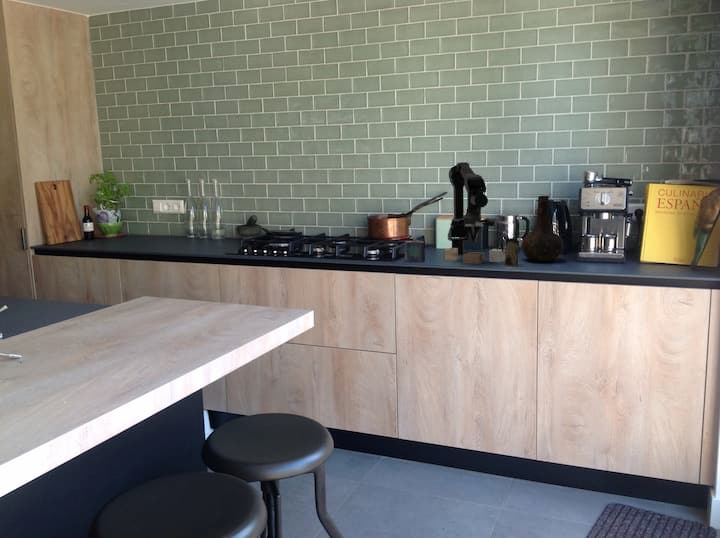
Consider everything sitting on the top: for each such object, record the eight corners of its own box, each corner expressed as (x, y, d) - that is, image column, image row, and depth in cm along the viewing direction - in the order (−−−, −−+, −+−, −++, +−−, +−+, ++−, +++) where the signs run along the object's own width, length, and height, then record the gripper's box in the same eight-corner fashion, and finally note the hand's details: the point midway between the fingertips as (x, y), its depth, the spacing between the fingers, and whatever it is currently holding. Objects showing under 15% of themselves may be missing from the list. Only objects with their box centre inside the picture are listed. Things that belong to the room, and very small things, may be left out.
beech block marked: (446, 258, 302) (446, 247, 301) (457, 259, 301) (457, 247, 300) (445, 260, 297) (445, 249, 296) (456, 261, 296) (456, 249, 295)
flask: (404, 261, 298) (403, 237, 296) (406, 260, 300) (406, 236, 298) (423, 262, 294) (423, 238, 292) (426, 261, 296) (425, 237, 294)
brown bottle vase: (539, 265, 279) (540, 198, 274) (512, 259, 295) (513, 195, 290) (572, 261, 286) (574, 195, 281) (545, 255, 302) (546, 193, 298)
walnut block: (469, 260, 296) (469, 251, 296) (484, 261, 293) (484, 252, 292) (463, 263, 291) (463, 254, 290) (478, 264, 287) (478, 255, 286)
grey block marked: (494, 260, 296) (495, 248, 295) (505, 261, 293) (505, 249, 292) (489, 261, 292) (489, 250, 291) (499, 262, 289) (499, 251, 288)
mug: (520, 265, 281) (521, 236, 279) (512, 266, 277) (513, 238, 275) (505, 263, 287) (505, 235, 285) (497, 264, 283) (497, 236, 281)
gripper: (447, 207, 284) (447, 243, 287) (490, 207, 276) (490, 245, 279) (455, 204, 294) (455, 240, 297) (497, 205, 286) (497, 241, 289)
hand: (474, 241), depth 290 cm, fingers closed
